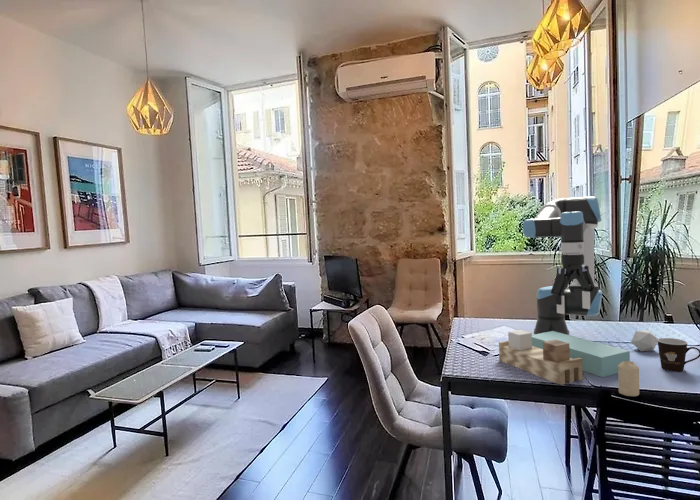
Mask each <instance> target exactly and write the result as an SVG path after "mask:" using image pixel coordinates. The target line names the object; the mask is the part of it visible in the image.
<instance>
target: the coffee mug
mask: <svg viewBox="0 0 700 500" xmlns="http://www.w3.org/2000/svg"><path fill="white" fill-rule="evenodd" d="M657 341H658V342H657V348H658V354H659V360H660V366H661V367H660V368H661V369H663V370H664V371H668V372H671V373H672V372H673V373H681V372H684V371H685V366H686V364H687V363H691V362H693V361H695V360H697V359H699V358H700V349H699V348H698V347H695V346H690V347H688V341H686V340H683V339H680V338H673V337H672V338H671V337H661V338H658V340H657ZM692 349H694V350H695V351H696V350H697V352H698V353H699V354H698V356H696V357H694V358H691V359H689V360H686V356H687V353H688V352H689V351H690V350H692Z"/></svg>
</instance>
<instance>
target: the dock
mask: <svg viewBox="0 0 700 500" xmlns="http://www.w3.org/2000/svg"><path fill="white" fill-rule="evenodd" d="M550 340H559V341H563V342H566V343H569V348H570V358H572V359H575V358H582V369H583V372H586V373H588V374H592V375H595V376H598V377H601V378H605V377H610V376H613V375H617V374H618V365H619V364H620V363H622V362H623V361H631V360H630V358H631V357H630V356H631V355H630V353H631V352H630V350H628V349H623V348H621V347H615V346H612V345H608V344H605V343H600V342H596V341H593V340H589V339H585V338H582V337H578V336H575V335H570V334H569V335H567V334H563V333H559V332H555V331H550V332H545V333H540V334H535V335H534V334H532V346H534V347H537V348H540V349H543V342H546V341H550Z"/></svg>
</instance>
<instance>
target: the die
mask: <svg viewBox="0 0 700 500" xmlns="http://www.w3.org/2000/svg"><path fill="white" fill-rule="evenodd" d="M658 339H659V338H658V337H657V336H656V335H654V334H653V333H652V332H651V331H650V330H649V329H647V330H646V329H645V330H644V329H642V330H635V332H634V334H633V337H632V339H631V340H630V343H632V344H633V346H635V347H636V348H637V349H638V350H639V351H640V352H650V351H654V350H655V349H656V346H657V345H658V341H657V340H658Z"/></svg>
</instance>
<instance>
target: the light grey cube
mask: <svg viewBox="0 0 700 500" xmlns="http://www.w3.org/2000/svg"><path fill="white" fill-rule="evenodd" d="M507 333H508V334H507V335H508V338H507V339H508V341H509V347H511V348H514V349H517V350H525V349H530V348H532V335H533V333H532V332H530V331H526V330H523V329H517V330H516V329H515V330H510V331H508V332H507Z"/></svg>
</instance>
